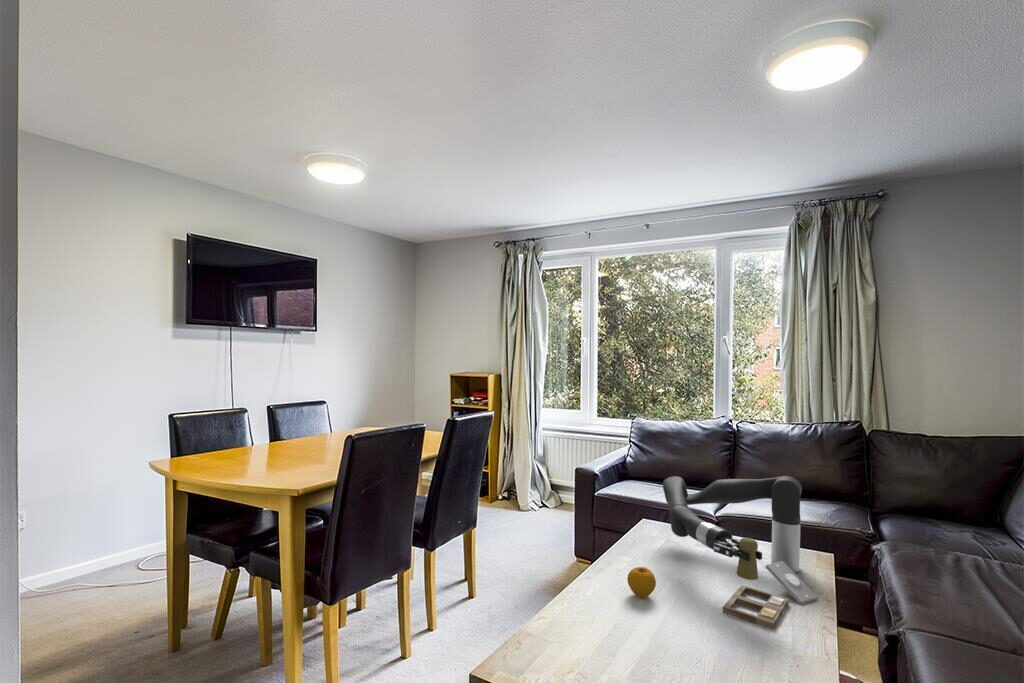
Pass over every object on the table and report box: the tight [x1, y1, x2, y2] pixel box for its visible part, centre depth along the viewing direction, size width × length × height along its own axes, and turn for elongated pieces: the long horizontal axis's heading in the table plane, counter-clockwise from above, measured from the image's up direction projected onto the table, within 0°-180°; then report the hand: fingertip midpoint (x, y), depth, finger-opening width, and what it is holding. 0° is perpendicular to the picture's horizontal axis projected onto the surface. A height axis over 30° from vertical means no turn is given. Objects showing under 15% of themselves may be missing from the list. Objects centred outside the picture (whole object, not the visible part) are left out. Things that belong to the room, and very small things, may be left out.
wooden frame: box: [722, 584, 789, 630], centre depth 159 cm, size 20×14×2 cm
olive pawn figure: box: [736, 537, 759, 581], centre depth 157 cm, size 6×6×11 cm
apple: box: [626, 566, 657, 599], centre depth 165 cm, size 9×9×9 cm
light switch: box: [765, 561, 819, 605], centre depth 171 cm, size 8×6×14 cm
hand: (755, 557), depth 154 cm, fingers closed on olive pawn figure, 4 cm apart
